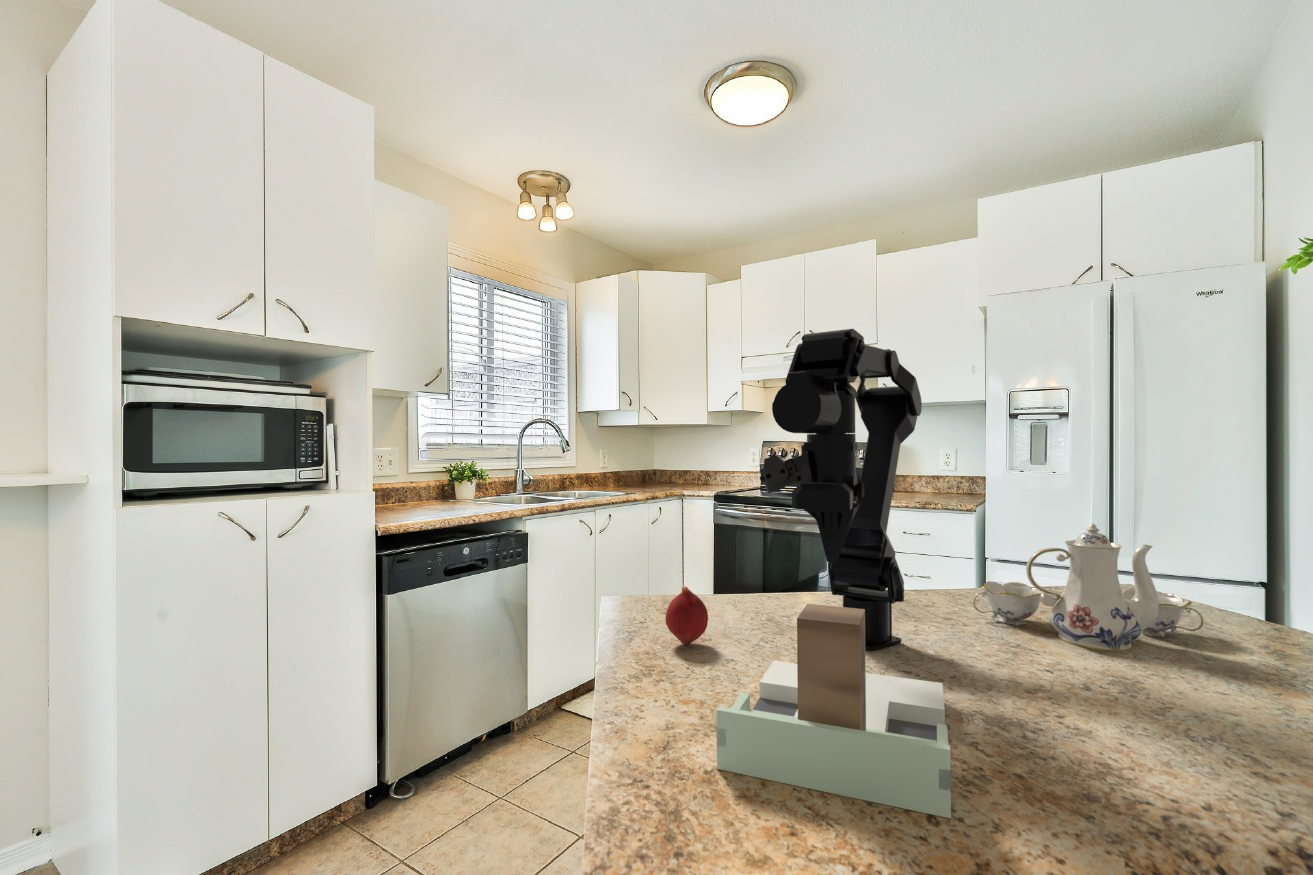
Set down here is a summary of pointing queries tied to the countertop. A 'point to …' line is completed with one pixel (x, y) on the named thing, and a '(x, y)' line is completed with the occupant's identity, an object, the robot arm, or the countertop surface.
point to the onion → (686, 616)
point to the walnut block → (831, 666)
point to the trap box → (845, 742)
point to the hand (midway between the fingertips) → (832, 562)
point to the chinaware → (1092, 598)
